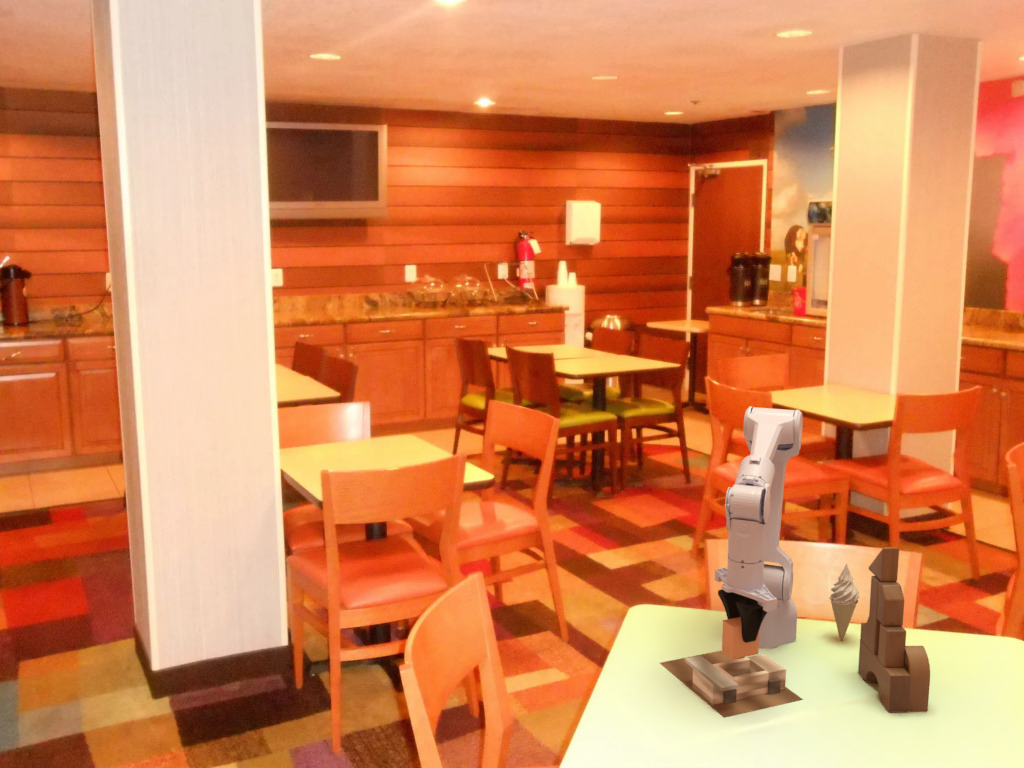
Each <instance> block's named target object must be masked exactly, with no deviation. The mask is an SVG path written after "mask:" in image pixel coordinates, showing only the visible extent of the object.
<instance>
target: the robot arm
mask: <svg viewBox="0 0 1024 768" xmlns="http://www.w3.org/2000/svg"><path fill="white" fill-rule="evenodd" d="M803 425H804V417H803V412H802V411H801V410H800V409H783V408H773V407H772V408H771V407H768V408H767V407H757V406H756V407H754V406H751V405H750V406H748V407H747V409H746V410H745V412H744V418H743V436H744V437H745V439H744V440H745V443H746V445H747V448H748V451H749V452H750V454H749V455H747V456H745V457H744V458H743V459H742V460H741V463H740V466H739V468H738V471H737V475H736V478H735V482H734V484H733V485H732V487H731V486H728V488H727V490H726V493H725V502H724V509H725V518H726V519H725V520H726V526H725V528H726V530H727V531H728V539H727V568H726V567H721V568H716V569H714V581H716V582H718V583H719V582H720V583H721V582H722V583H723V584H722V585H721V587H720V588H721V589H719V590H718V591H717V595H718V597H719V599H720V601H721V602H722V605H723V608H724V610H725V613H726V614H725V615H726V617H727V619H732V618H737V617H740V618H741V627H742V638H743V641H744V642H745V643H747V642H752V641H756V638H757V635H758V632H759V647H758V649H761V650H762V649H765V650H769V649H775V648H778V647H780V646H782V645H787V644H791V643H792V644H793V643H796V641H797V627H798V626H797V625H798V610H797V607H796V604H795V602H794V600H793V599H792V598H791V597H792V593H793V586H794V585H793V584H794V571H793V570H794V562H793V559H792V557H790V555H788V554H787V553H786V551H784V550H782V548H781V547H780V539H781V538H780V536H781V527H782V526H781V525H782V515H783V514H782V513H783V502H784V492H785V491H784V490H785V481H786V480H785V478H786V471H787V466H788V463H789V460H790V458H793V457H796V456H799V454H800V450H801V448H802V447H801V445H802V434H803V427H804V426H803ZM765 562H767V563H774V564H778V565H774V564H767V563H765ZM780 565H781V566H780ZM727 619H726V620H727Z"/></svg>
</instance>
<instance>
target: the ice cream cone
mask: <svg viewBox="0 0 1024 768" xmlns="http://www.w3.org/2000/svg"><path fill="white" fill-rule="evenodd" d="M849 569H850V568H849V566H848V563H846V564H845V566H844V568H843V570H842V571H841V573H840V575H839V576H838V577H837V578H838V581H837V582H835V583H833V586H834V587H832V588H830V590H831V592H833V593H831V594H830V596H829V601H830V604H831V607H832V612H833V617H834V620H835V624H836V625H835V626H836V629H837V633H838V637H839V640H840V641H841V642H843V641H844V640H845V639H844V638H845V636H846V634H847V630H848V628H849V626H850V623H851V619H852V617H853V614H854V611H855V609H856V606H857V604H858V603H859V600H858V599H860V590H859V589H858V587H857V585H856V584H855V583H854V577H853V576H852V574H851V572H850V570H849Z"/></svg>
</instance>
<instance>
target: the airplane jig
mask: <svg viewBox="0 0 1024 768" xmlns="http://www.w3.org/2000/svg"><path fill="white" fill-rule="evenodd" d="M659 664H660V665H661V666H662V667H664V668H665V669H666V670H667V671H668V672H669V673H670V674H672V675H673V676H674V677H675V678H676V679H678V681H680V682H681V683H682V684H683V685H685V686H686V687H687V688H688V689H689V690H691V691H692V692H693V693H694V694H695V695H697V696H698V697H699V698H700V699H701V700H702V701H704V703H705V704H707V705H709V707H711V709H713V710H714V711H715V712H717V713H718V714H719V715H720V716H721V717H722V718H729V717H733V716H738V715H742V714H747V713H750V712H751V713H752V712H756V711H759V710H765V709H768V708H773V707H778V706H782V705H785V704H786V705H787V704H791V703H795V702H800V701H803V700H804V699H803V698H802V697H800V696H799V695H797V694H796V693H795V692H794V691H793V690H791V689H790V688H788V687H786V679H787V678H786V676H787V669H786V668H785V667H784V666H782V665H781V664H779V663H777V662H776V661H775V660H774V659H772V658H771V657H770V656H768V655H767V654H765V653H761V654H756V655H751V656H746V657H741V658H736V659H731V658H730V657H729V656H727V655H726V654H724V653H723V652H722V650H717V651H713V652H707V653H703V654H702V653H701V654H697V655H693V656H687V657H683V658H677V659H672V660H668V661H667V660H666V661H662V662H659Z"/></svg>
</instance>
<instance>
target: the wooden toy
mask: <svg viewBox="0 0 1024 768" xmlns="http://www.w3.org/2000/svg"><path fill="white" fill-rule="evenodd" d="M899 556H900V548H899V547H897V546H894V547H893V546H890V547H889V546H887V547H885V546H884V547H882V549H881V550H880V552H879V553H878V554H877V556H875V558H874V560H873V561H872V562H871V564H870V565H869V566H868V571H870V572H871V574H873V575H872V576H871V577H870V578H871V579H870V592H869V593H870V594H869V595H870V596H869V612H868V613H869V615H868V618H867V620H866V622H861V623H860V639H859V650H858V668H857V670H858V671H857V673H858V674H859V676H861V678H862V679H863V681H865V682H866V683H871V682H872V683H877V684H878V688H879V695H880V697H879V698H880V699H879V700H880V703H881V705H882V706H884V709H885V710H886V711H887V712H888V713H907V712H928V710H929V699H930V698H929V695H930V685H931V684H930V683H931V665H930V660H929V657H928V653H927V651H926V648H925V646H924V645H906V640H907V630H906V629H905V628H904V627H903V625H904V612H905V611H904V610H905V597H904V593H903V589H902V585H901V584H900V583H899V582H898V574H899V573H898V572H899Z"/></svg>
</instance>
